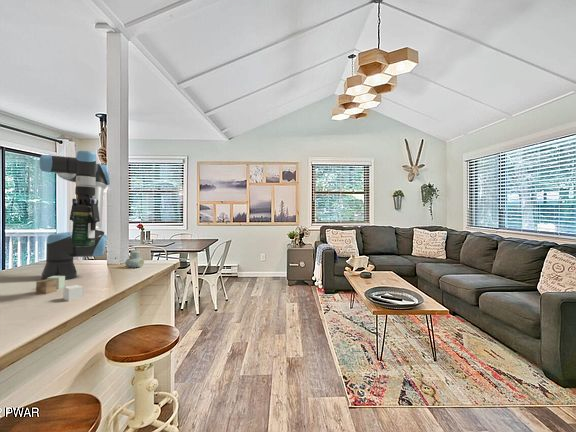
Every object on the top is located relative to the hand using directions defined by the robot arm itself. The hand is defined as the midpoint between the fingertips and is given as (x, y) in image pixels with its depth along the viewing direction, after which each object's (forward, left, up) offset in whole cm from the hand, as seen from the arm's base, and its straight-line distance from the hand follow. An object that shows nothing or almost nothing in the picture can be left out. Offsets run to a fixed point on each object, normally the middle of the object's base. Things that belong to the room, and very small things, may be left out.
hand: (83, 237), depth 147 cm
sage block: (-15, -2, -24) cm, 28 cm away
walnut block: (-10, -9, -24) cm, 28 cm away
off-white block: (+9, -10, -24) cm, 28 cm away
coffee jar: (0, 0, -4) cm, 4 cm away
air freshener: (-30, +55, -24) cm, 67 cm away
